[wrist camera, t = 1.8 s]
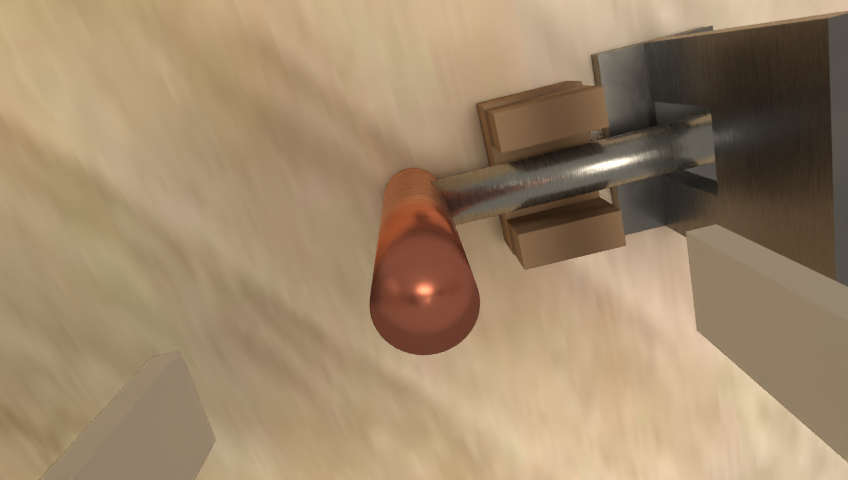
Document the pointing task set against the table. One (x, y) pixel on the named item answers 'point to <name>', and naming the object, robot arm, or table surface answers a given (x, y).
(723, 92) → the eye bracket
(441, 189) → the hook
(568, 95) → the cradle
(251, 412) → the table surface
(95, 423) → the robot arm
